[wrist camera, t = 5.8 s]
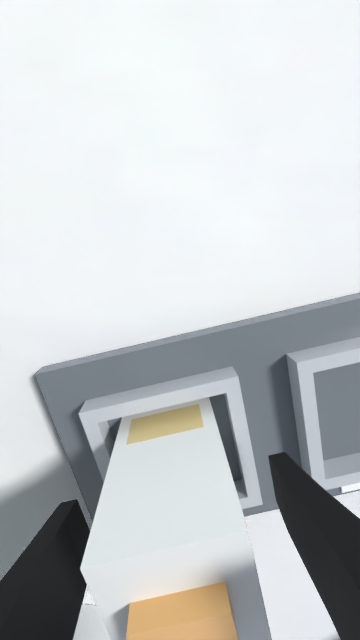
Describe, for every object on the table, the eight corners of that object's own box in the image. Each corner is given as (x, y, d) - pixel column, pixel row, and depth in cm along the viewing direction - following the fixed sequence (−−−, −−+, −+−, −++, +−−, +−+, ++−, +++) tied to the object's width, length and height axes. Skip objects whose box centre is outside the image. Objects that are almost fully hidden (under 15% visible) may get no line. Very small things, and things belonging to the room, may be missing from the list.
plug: (225, 468, 13) (282, 678, 7) (144, 487, 13) (123, 712, 7) (208, 396, 12) (256, 558, 6) (121, 416, 12) (71, 601, 6)
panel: (450, 454, 14) (489, 482, 13) (106, 532, 15) (98, 570, 13) (455, 270, 12) (504, 273, 10) (42, 366, 12) (22, 385, 10)
